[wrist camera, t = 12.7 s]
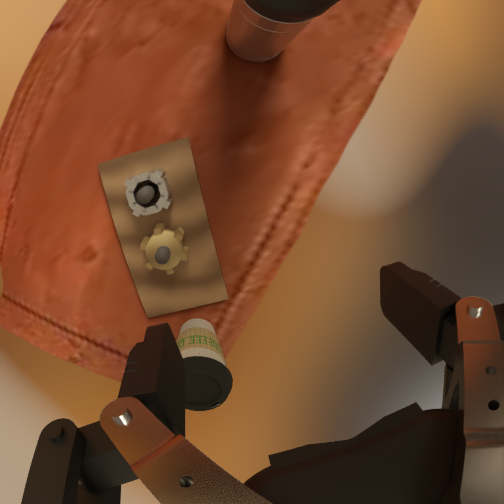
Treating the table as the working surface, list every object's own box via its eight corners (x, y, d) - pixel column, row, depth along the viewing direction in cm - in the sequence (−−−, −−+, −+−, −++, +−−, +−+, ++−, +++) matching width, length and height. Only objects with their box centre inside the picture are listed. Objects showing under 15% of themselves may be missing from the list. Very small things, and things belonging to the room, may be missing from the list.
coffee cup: (202, 298, 52) (204, 352, 38) (236, 337, 56) (247, 394, 42) (158, 328, 53) (148, 385, 39) (193, 363, 56) (194, 422, 42)
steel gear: (128, 176, 43) (122, 179, 39) (164, 166, 43) (161, 168, 39) (138, 213, 45) (133, 219, 41) (174, 203, 45) (171, 208, 41)
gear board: (100, 163, 43) (83, 167, 36) (188, 137, 44) (186, 136, 37) (149, 313, 52) (142, 337, 45) (227, 294, 53) (232, 317, 46)
